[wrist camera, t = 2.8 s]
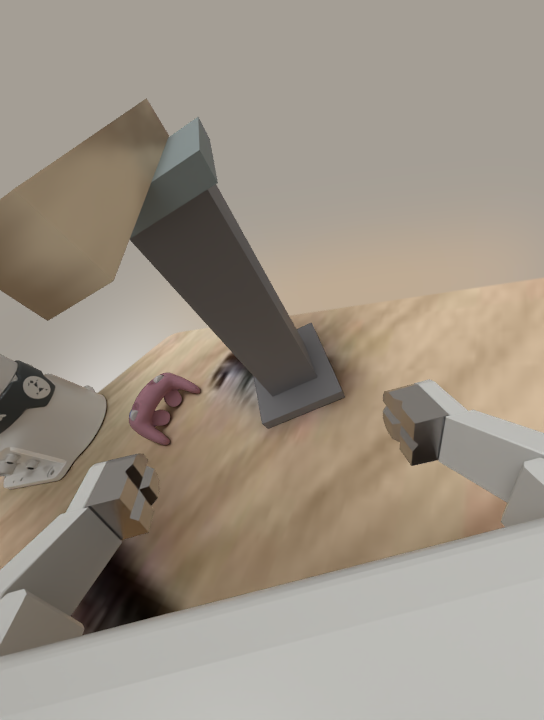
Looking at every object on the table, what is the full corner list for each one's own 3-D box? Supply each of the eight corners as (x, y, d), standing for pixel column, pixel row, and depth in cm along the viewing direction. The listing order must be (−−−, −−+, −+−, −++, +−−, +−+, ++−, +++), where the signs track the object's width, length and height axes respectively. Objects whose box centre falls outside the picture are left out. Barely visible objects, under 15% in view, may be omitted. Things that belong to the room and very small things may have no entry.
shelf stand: (267, 428, 33) (57, 245, 14) (253, 357, 41) (106, 181, 22) (345, 397, 31) (217, 137, 12) (314, 329, 39) (209, 108, 20)
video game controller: (195, 388, 45) (157, 365, 42) (204, 387, 41) (163, 362, 39) (161, 444, 41) (117, 423, 39) (167, 449, 38) (119, 425, 35)
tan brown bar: (47, 320, 8) (-64, 248, 6) (145, 152, 22) (121, 117, 21) (113, 280, 7) (13, 189, 5) (168, 135, 22) (146, 98, 20)
